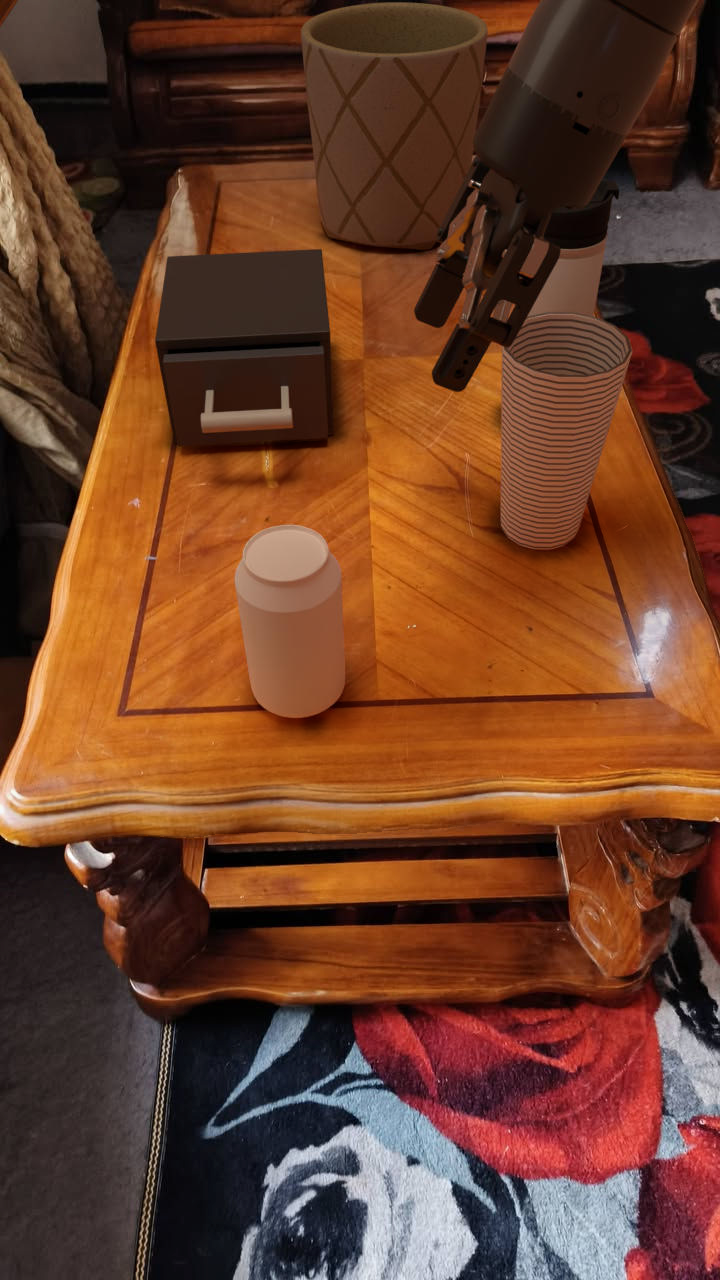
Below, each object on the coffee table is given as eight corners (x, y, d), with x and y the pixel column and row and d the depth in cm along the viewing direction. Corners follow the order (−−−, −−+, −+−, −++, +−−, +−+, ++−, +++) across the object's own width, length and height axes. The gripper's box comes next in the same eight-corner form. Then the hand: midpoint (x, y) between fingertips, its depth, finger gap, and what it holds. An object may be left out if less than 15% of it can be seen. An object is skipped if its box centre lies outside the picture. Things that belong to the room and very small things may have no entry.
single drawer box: (334, 435, 83) (330, 331, 76) (174, 444, 82) (154, 340, 75) (326, 347, 93) (321, 248, 86) (183, 355, 92) (167, 256, 85)
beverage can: (339, 730, 60) (331, 593, 52) (243, 721, 61) (219, 584, 52) (351, 658, 65) (347, 520, 56) (261, 651, 65) (243, 513, 57)
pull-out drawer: (331, 473, 77) (327, 387, 72) (175, 482, 77) (158, 396, 71) (321, 354, 90) (316, 273, 84) (187, 361, 90) (173, 281, 84)
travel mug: (583, 441, 81) (627, 202, 67) (506, 442, 82) (532, 203, 67) (573, 401, 86) (612, 167, 71) (499, 401, 86) (523, 169, 71)
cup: (575, 486, 77) (608, 306, 66) (609, 555, 71) (651, 370, 60) (472, 497, 76) (488, 316, 65) (498, 568, 71) (520, 383, 59)
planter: (450, 269, 104) (461, 62, 89) (287, 247, 108) (272, 46, 94) (490, 200, 116) (506, 8, 102) (342, 182, 120) (337, -4, 106)
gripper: (487, 31, 56) (372, 284, 65) (542, 101, 45) (395, 389, 55) (594, 87, 58) (467, 323, 68) (668, 165, 48) (507, 429, 58)
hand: (435, 352), depth 62 cm, fingers open, 8 cm apart
